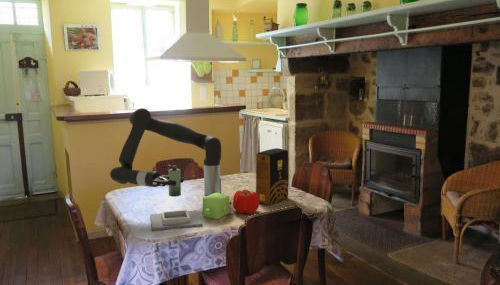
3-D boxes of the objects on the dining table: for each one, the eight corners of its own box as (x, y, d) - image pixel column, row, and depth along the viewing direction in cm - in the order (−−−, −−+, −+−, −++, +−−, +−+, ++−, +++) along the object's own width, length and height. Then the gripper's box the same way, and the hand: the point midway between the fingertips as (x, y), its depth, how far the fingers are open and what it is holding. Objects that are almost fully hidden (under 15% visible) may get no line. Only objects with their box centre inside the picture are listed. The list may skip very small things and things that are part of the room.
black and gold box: (290, 197, 225) (290, 148, 220) (270, 206, 210) (270, 153, 205) (274, 194, 231) (274, 146, 227) (253, 202, 216) (253, 151, 212)
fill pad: (195, 212, 201) (195, 206, 201) (202, 225, 182) (202, 219, 182) (150, 216, 195) (150, 210, 195) (152, 231, 176) (152, 224, 176)
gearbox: (213, 223, 186) (213, 204, 185) (196, 219, 192) (196, 200, 190) (235, 212, 201) (235, 194, 199) (219, 208, 206) (219, 190, 205)
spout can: (180, 192, 194) (179, 162, 192) (181, 196, 189) (180, 165, 187) (167, 193, 193) (166, 163, 190) (168, 197, 187) (167, 165, 185)
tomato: (228, 210, 204) (227, 190, 202) (251, 206, 210) (250, 186, 209) (240, 218, 192) (240, 196, 190) (264, 213, 198) (264, 192, 197)
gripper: (139, 174, 187) (171, 177, 182) (157, 167, 201) (187, 170, 195) (140, 189, 189) (171, 193, 183) (157, 182, 202) (187, 186, 196)
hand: (179, 181), depth 189 cm, fingers closed on spout can, 5 cm apart
